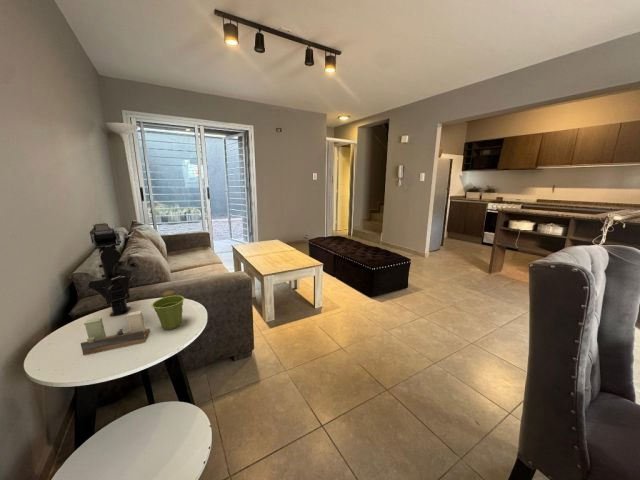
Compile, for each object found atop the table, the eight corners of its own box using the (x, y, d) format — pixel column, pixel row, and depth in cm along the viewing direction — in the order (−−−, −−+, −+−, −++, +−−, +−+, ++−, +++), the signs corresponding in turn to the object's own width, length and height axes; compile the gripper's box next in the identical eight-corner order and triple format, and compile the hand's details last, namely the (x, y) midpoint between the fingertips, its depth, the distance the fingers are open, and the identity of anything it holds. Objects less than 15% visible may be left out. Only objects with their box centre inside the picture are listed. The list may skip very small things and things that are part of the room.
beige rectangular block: (133, 332, 101) (128, 312, 99) (145, 329, 103) (141, 310, 101) (130, 335, 99) (126, 316, 97) (144, 333, 100) (139, 313, 98)
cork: (164, 317, 115) (160, 295, 113) (165, 312, 121) (161, 290, 118) (179, 314, 118) (175, 292, 116) (179, 308, 123) (176, 287, 121)
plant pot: (189, 327, 107) (185, 302, 105) (156, 336, 101) (151, 311, 99) (186, 315, 117) (182, 292, 115) (156, 323, 111) (151, 299, 108)
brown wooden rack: (93, 342, 99) (90, 329, 97) (150, 331, 105) (147, 319, 104) (82, 355, 91) (78, 342, 90) (144, 342, 97) (141, 330, 96)
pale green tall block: (92, 340, 97) (87, 320, 95) (106, 337, 98) (101, 317, 96) (89, 344, 95) (84, 323, 93) (104, 341, 96) (98, 320, 94)
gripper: (112, 264, 92) (122, 304, 95) (145, 253, 111) (152, 287, 113) (82, 267, 92) (92, 307, 95) (119, 255, 111) (127, 289, 113)
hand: (119, 297), depth 104 cm, fingers open, 9 cm apart
